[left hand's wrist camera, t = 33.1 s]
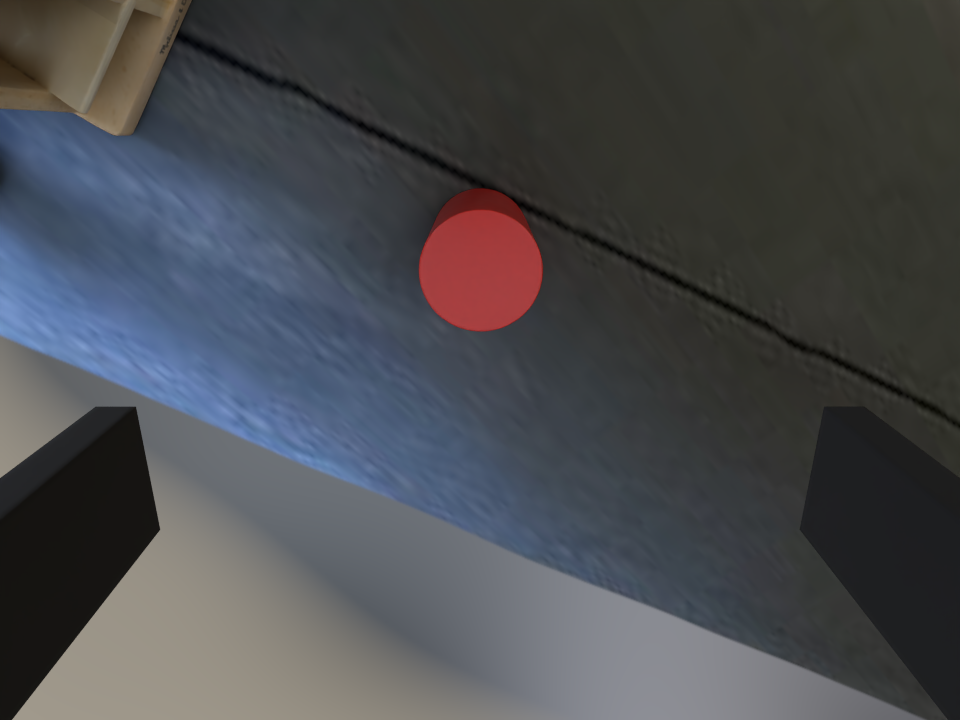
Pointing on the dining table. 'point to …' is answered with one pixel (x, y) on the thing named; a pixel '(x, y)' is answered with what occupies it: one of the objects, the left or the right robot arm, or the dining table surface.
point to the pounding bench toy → (86, 56)
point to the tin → (480, 262)
